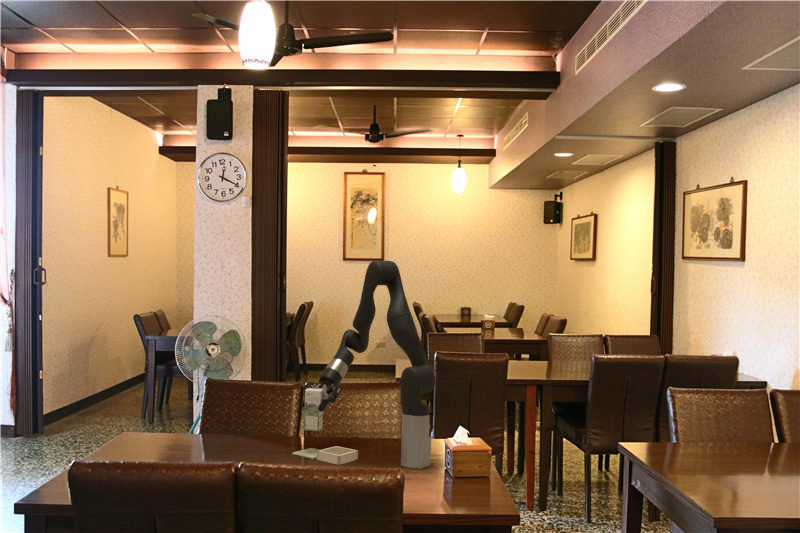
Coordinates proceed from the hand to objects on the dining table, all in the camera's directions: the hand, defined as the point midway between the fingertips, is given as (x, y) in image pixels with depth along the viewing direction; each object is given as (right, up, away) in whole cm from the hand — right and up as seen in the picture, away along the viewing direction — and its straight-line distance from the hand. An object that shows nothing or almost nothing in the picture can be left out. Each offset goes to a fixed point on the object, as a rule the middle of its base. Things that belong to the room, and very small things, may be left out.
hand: (311, 408), depth 218 cm
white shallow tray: (+5, -16, -3) cm, 17 cm away
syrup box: (0, -8, +1) cm, 8 cm away
